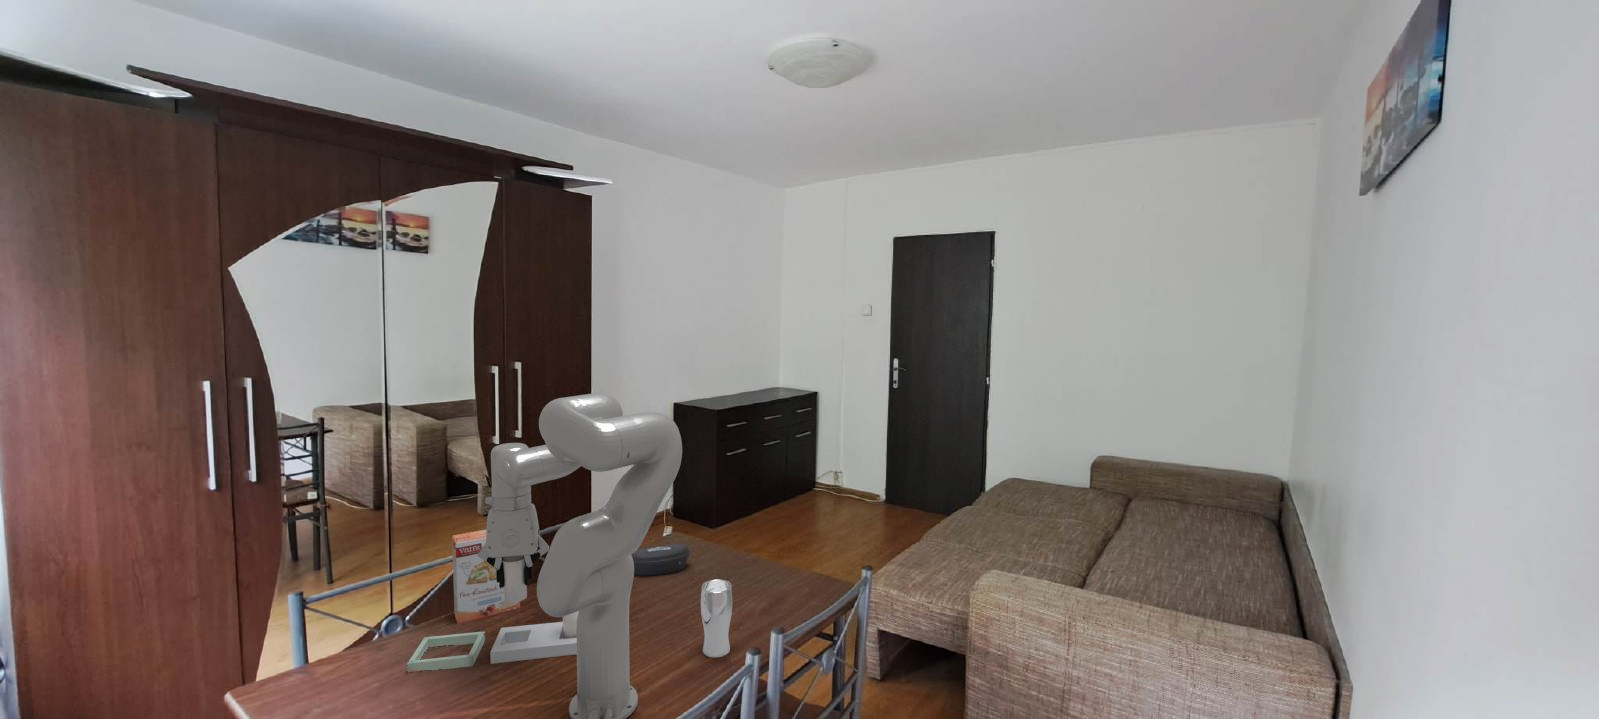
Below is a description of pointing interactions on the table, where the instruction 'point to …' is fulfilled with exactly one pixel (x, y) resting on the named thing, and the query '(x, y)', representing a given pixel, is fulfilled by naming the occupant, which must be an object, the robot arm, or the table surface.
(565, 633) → the fuse
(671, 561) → the glasses case
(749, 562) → the table surface
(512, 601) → the cylinder
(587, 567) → the robot arm
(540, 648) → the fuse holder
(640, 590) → the table surface
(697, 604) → the table surface
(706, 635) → the beer glass
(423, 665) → the green square frame
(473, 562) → the cracker box
